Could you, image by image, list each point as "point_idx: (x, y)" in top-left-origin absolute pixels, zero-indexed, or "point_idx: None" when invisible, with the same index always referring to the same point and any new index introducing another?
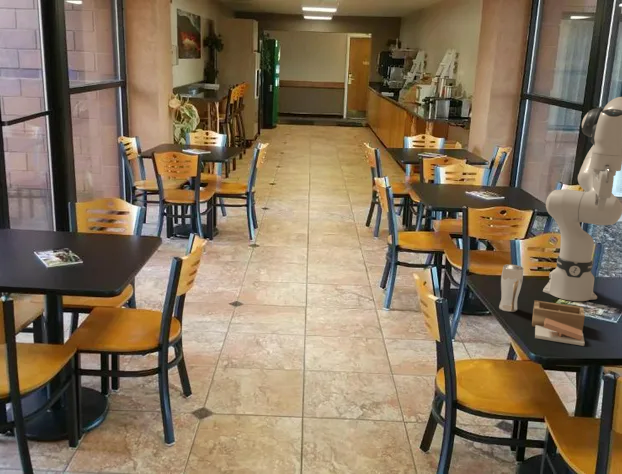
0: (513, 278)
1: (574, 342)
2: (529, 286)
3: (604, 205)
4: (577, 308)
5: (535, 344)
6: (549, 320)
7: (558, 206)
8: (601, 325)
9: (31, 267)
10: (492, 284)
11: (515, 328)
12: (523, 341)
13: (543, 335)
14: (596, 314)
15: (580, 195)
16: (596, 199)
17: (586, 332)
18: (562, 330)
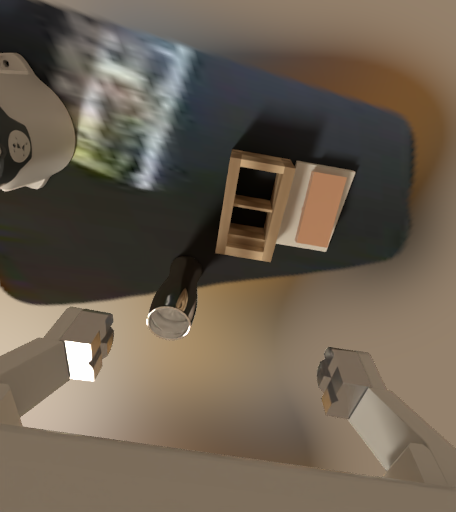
0: (194, 311)
1: (348, 189)
2: (17, 209)
3: (389, 391)
4: (238, 171)
5: (353, 252)
6: (306, 237)
7: None
8: (223, 97)
9: None
10: (51, 276)
11: (284, 271)
12: (341, 268)
13: None
14: (147, 89)
15: None
16: (68, 372)
17: (277, 146)
18: (335, 215)
